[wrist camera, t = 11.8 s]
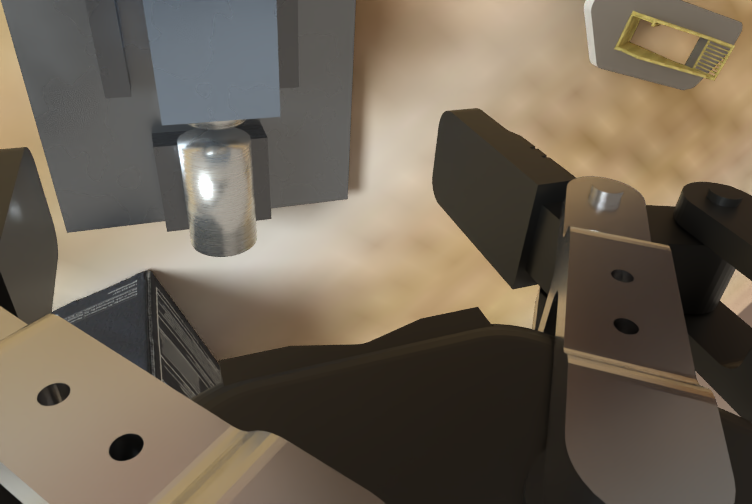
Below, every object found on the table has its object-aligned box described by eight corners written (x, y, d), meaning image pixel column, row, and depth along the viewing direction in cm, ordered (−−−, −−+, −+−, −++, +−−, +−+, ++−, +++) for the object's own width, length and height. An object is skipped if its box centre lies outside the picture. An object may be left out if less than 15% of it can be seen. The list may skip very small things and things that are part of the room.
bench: (341, 188, 33) (374, 244, 29) (68, 219, 29) (60, 290, 25) (359, -330, 21) (420, -368, 17) (-107, -409, 17) (-185, -487, 12)
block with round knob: (127, -104, 22) (130, -79, 16) (237, -100, 23) (273, -75, 17) (156, 83, 26) (166, 152, 20) (249, 78, 27) (281, 142, 21)
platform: (653, 136, 40) (729, 181, 35) (424, 88, 32) (481, 138, 27) (760, -55, 34) (869, -33, 29) (512, -169, 26) (605, -166, 21)
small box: (34, 314, 31) (6, 483, 23) (149, 264, 32) (160, 412, 24) (138, 420, 38) (143, 579, 30) (231, 377, 39) (260, 521, 31)
